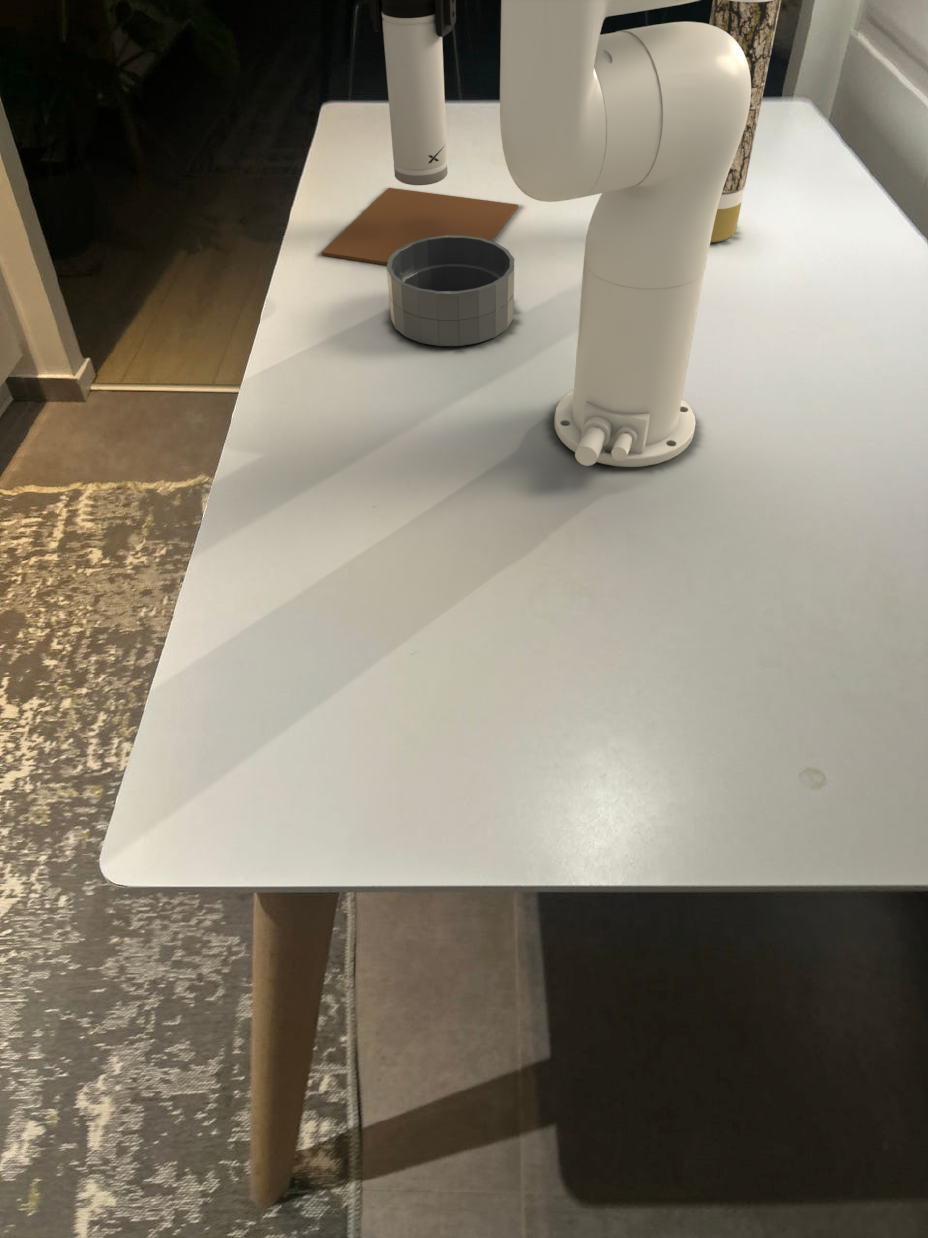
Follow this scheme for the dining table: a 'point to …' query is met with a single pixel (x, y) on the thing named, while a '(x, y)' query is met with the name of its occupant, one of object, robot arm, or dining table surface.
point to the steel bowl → (451, 290)
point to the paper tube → (751, 19)
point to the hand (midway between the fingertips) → (413, 28)
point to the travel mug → (415, 91)
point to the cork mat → (416, 223)
